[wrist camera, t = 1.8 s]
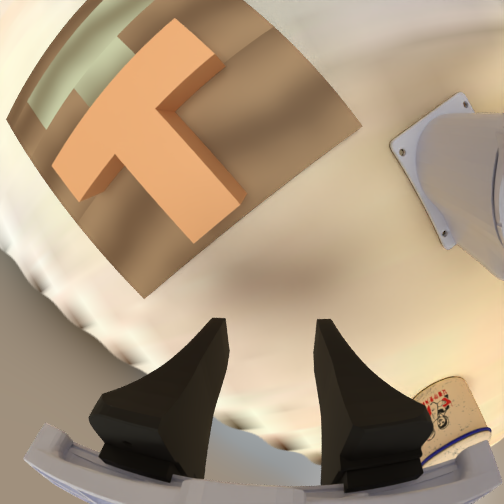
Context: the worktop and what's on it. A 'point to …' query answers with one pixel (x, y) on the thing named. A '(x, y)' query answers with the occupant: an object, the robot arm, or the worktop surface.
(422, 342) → the worktop surface
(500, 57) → the worktop surface
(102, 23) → the board
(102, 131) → the t block
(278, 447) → the worktop surface
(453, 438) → the teacup with lid
